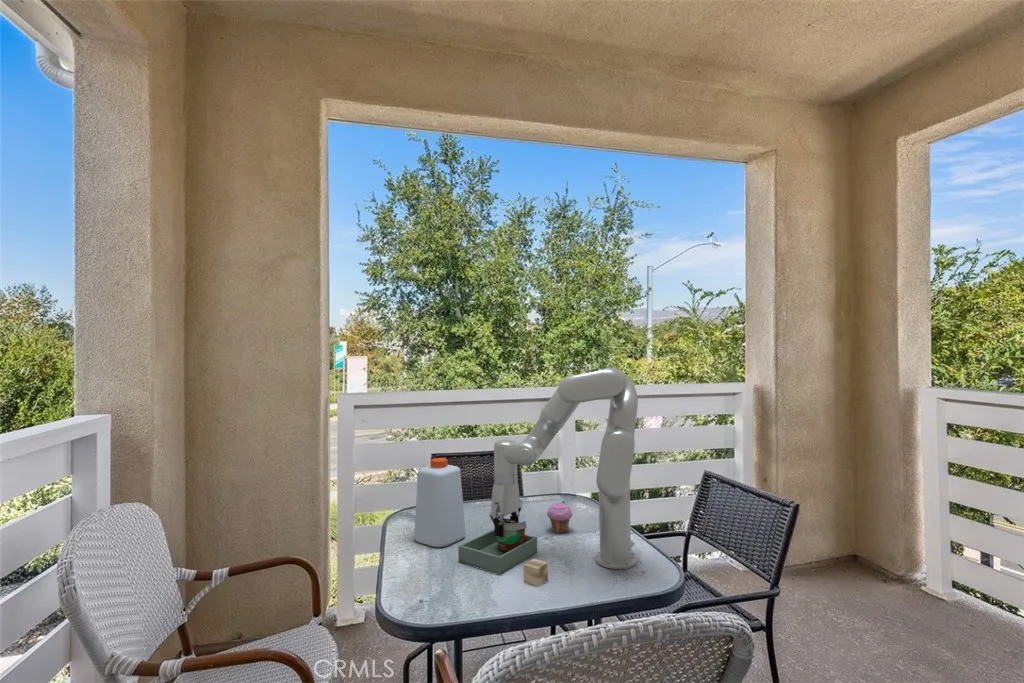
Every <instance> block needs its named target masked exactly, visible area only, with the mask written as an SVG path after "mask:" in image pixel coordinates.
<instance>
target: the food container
mask: <svg viewBox="0 0 1024 683" xmlns="http://www.w3.org/2000/svg"><path fill="white" fill-rule="evenodd" d="M498 519H499V520H500V517H499V516H498ZM502 524H503V534H504V536H503V537H498V536H497V542H498V550H499V551H500V552H502V553H507V552H509V551H510V550H512V549H514V548H516V547H518V546H520V545H521V544H523V543H524V537H525V535H526V533H525V532H526V529H527V523H526V520H524V521H521V522H520V521H519V522H517V521H515V520H512V519H510V518H505V517H504V518H503V522H502Z"/></svg>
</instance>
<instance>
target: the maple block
mask: <svg viewBox="0 0 1024 683" xmlns="http://www.w3.org/2000/svg"><path fill="white" fill-rule="evenodd" d="M548 565H549V562H546V561H543V560H541V559H536V558H532V559H530V560H528V561H527V562H525V563H524V564H523V583H527V584H528V585H532V586H536V587H540V586H542V585H543V584H544V583H545V581H546V582H547V581H548V580H549V566H548Z"/></svg>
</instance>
